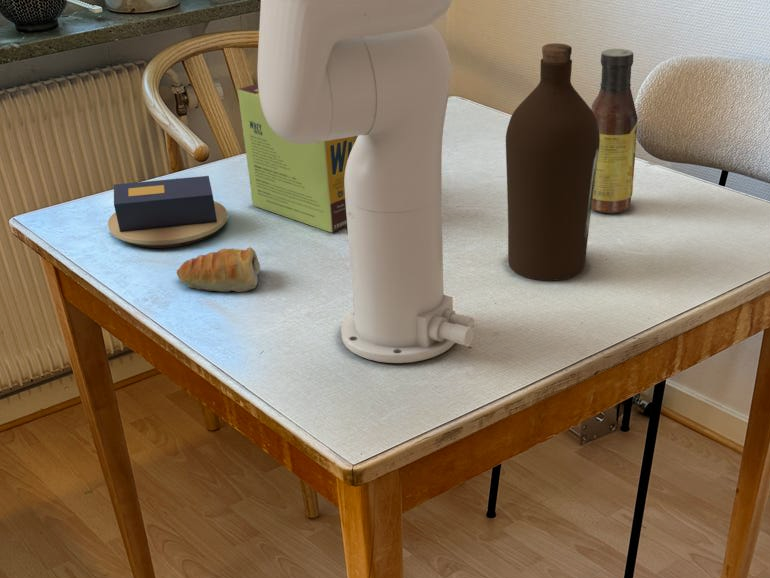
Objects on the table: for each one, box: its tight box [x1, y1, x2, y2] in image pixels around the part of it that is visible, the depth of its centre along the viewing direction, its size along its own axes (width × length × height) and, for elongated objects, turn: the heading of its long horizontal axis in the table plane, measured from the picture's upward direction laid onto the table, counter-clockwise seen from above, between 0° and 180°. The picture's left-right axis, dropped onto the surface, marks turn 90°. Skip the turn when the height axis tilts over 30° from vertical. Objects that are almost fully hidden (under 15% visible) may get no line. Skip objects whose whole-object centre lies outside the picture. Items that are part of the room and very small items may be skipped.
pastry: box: [176, 246, 261, 293], centre depth 118 cm, size 9×7×4 cm
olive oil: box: [505, 42, 600, 281], centre depth 115 cm, size 11×11×25 cm
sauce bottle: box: [590, 48, 639, 214], centre depth 132 cm, size 6×6×20 cm
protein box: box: [237, 83, 358, 233], centre depth 132 cm, size 10×15×16 cm
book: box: [107, 175, 228, 245], centre depth 129 cm, size 15×15×4 cm
